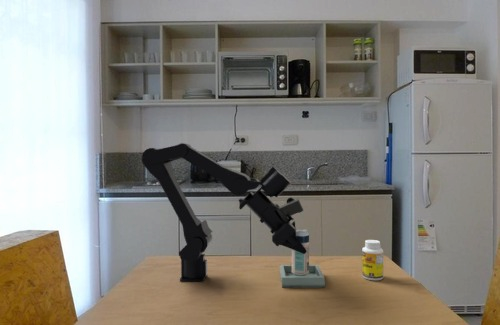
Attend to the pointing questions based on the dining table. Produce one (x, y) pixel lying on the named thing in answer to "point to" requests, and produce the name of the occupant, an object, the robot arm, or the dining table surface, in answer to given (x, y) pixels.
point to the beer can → (301, 255)
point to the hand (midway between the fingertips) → (305, 250)
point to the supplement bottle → (372, 260)
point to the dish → (302, 277)
